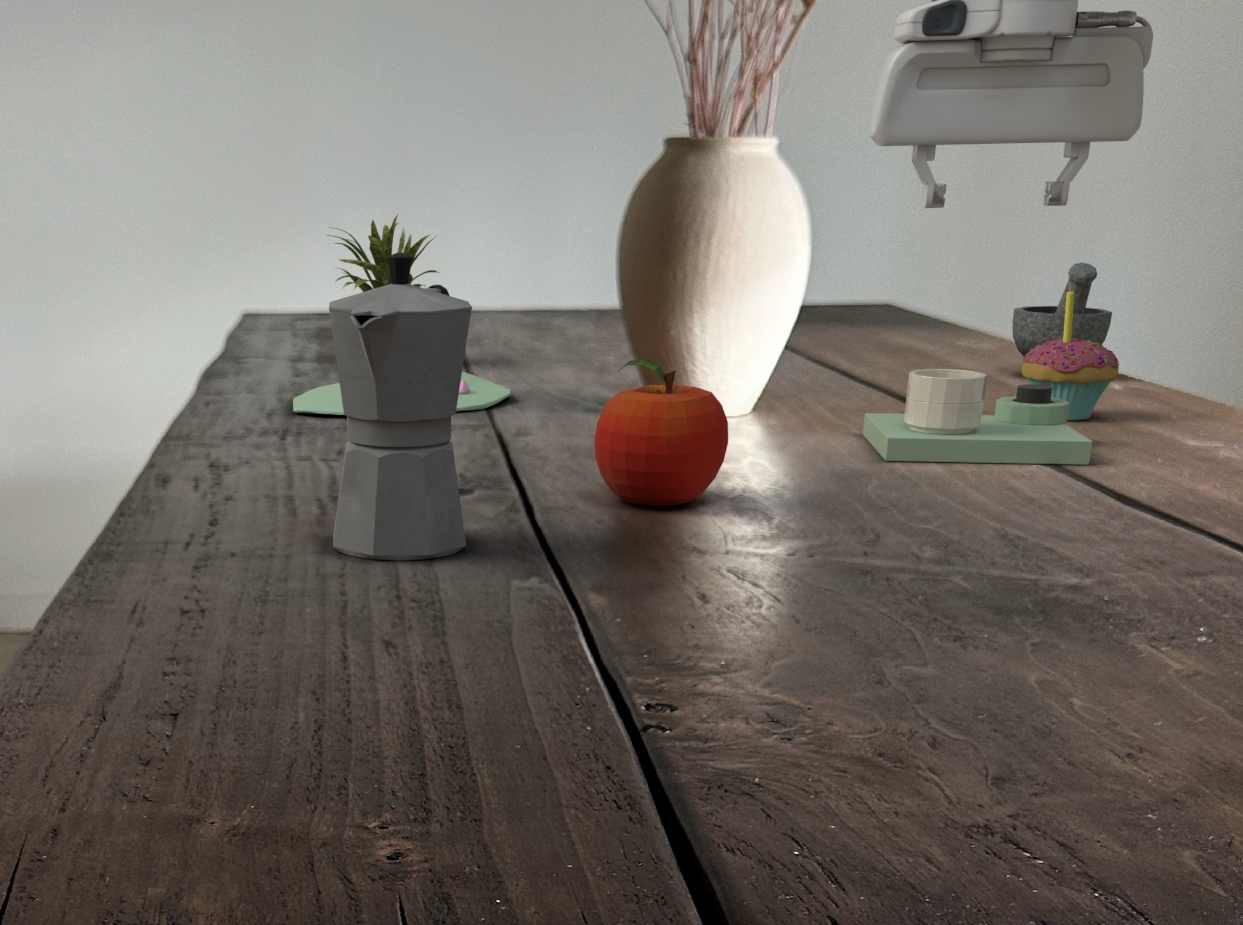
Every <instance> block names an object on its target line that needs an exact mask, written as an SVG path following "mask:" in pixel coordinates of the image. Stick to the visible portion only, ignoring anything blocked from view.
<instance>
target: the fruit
mask: <svg viewBox="0 0 1243 925" xmlns="http://www.w3.org/2000/svg"><path fill="white" fill-rule="evenodd" d="M627 366H643V367H646V368H648V369H650V370H652V371H653V372H654V373H655V374H656V375H657V376H659V378H660V379H662V380H663V381H664V384H648V385H644V386H639V387H634V388H630V389H626V390H622V391H620V392H618V393H616V394H614V395H613V396H612V397H611V398H610V400H608V401H607V402H606V403H605V405H604V406H603V409H602V411H601V413H600V415H599V418H598V420H597V422H596V426H595V427H596V428H595V432H594V433H595V434H594V438H593V439H594V440H593V442H594V457H595V461H596V465H597V467H598V468H597V469H598V471H599V474H600V476H601V478H602V479H603V481H604V482H605V484H606V486H607V487H608V489H609V490H610V491H611V493H613V494H614V495H616V496H617V497H619V498H620V499H622V500H623V501H624V502H627V503H630V504H633V505H634V504H635V505H641V506H651V507H652V506H653V507H654V506H655V507H656V506H657V507H658V506H659V507H663V506H678V505H683V504H686V503H688V502H690V501H691V500H694V499H695V498H697V497H698V496H701V495H702V494H704V493H705V491H706V490H707V489H708V487H709V486H710V485H711V484H713V482H714V481H715V479H716V478H717V475H718V474H719V472H720V469H721V468H722V465H723V464H724V461H725V458H726V453H727V449H728V446H729V422H728V418H727V416H726V413H725V410H724V407H723V404H722V403H721V401H720V400H718V398H717V397H716V395H715V394H714V393H713V392H712V391H709V390H706V389H704V388H701V387H698V386H691V385H690V386H689V385H675V384H674V381H675V377H676V372H677V370H676V369H675V370H672V371H669V372H665V373H664V371H663V369H662V367H661V365H659V364H657V363H655V362H654V361H652V360H650V359H649V358H641V359H633V360H628V361H627V362H626V363H625V364H624V365H623V366H622V367H621V368H619V369H618V370H616V372H617V373H618V372H619V371H621V370H622V369H624V368H625V367H627Z"/></svg>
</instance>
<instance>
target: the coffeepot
mask: <svg viewBox="0 0 1243 925" xmlns="http://www.w3.org/2000/svg"><path fill="white" fill-rule="evenodd" d="M412 258H413V257H412V256H410V255H407V254H405V253H403V252H402V253H397V252H395V253H392V255H390V256H387V259H388V265H389V271H390V277H391V283H392V284H389V285H386V286H382V287H379V288H375V289H372V290H369V291H365V292H363V291H362V292H358V293H355V294H352V295H347V296H345V297H342V298H340V299H335V300H332V301H329V304H328V310H329V311H328V312H329V318H330V325H331V332H332V340H333V347H334V355H335V361H336V368H337V376H338V381H339V382H338V383H340V390H341V397H342V404H343V411H344V415H343V416H346V439H347V441H346V442H345V449H344V456H343V461H342V462H343V463H342V471H341V478H340V485H339V492H338V499H337V505H336V513H335V519H334V525H333V526H334V528H333V534H332V547H333V548H334V549H335V550H336V551H337V552H339V553H341V554H345V555H348V556H352V557H355V558H360V559H361V558H362V559H367V560H368V559H369V560H379V561H380V560H381V561H419V560H429V559H436V558H442V557H446V556H450V555H453V554H456V553H459V552H461V551H462V550H463V549H464V548H466V547H467V540H466V534H465V526H464V525H465V524H464V519H463V512H462V511H463V510H462V504H461V496H460V490H459V481H458V475H457V467H456V460H455V453H454V452H455V451H454V446H453V442H452V441H451V439H452V416H454V415H456V413H457V411H456V408H457V402H458V395H459V388H460V382H461V375H462V372H463V369H464V368H463V367H464V362H465V356H466V348H467V342H468V336H469V330H470V329H469V328H470V323H471V322H470V321H471V315H472V310H473V306H472V304H470V302H469V301H467V300H465V299H461V298H458V297H455V296H452V295H450V293H449V290H448V288H446V287H445V286H443V285H441V284H432V285H430V286H428V287H426V288H425V287H422V286H421V287H417V286H414V284H412V283H411V284H408V281H409V275H410V274H411V269H412V266H411V264H412Z"/></svg>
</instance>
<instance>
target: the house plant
mask: <svg viewBox="0 0 1243 925" xmlns="http://www.w3.org/2000/svg"><path fill="white" fill-rule="evenodd" d="M398 216H399V214H397V215H396V216H395V217H394V218H393V220H392V223H391V226H390V227H389V225H387V224H385V225H383V228H382V233H381V234H382V236H380V234H379V231H378V228H377V225H376V223H375V220H373V219H371V220H372V221H371V223H370V235H368V237H367V238H368V240H369V248H368V250H369V251H370V254H371V256H372V259H373V261H374V263H372V262H371V261H370V259H369V258H368V256H367V254H366V253H365V252H366V251H364V249H363V247H362V246H361V244H360V243H359V242H358V240H357V239H356V238H355V236H353V235H352V234H351V233H350V232H347V231H346V230H343V229H341V228H337V227H333V229H334V230H338V231H341V232H344V233H345V234H347V235H348V236H350V237H351V238H352V239H347V238H344V237H341V236H336V235H331V234H327V236H328V237H333V238H338V239H341V240H342V241H344V242H345V243H344V242H343V243H342V242H334V245H335V244H336V245H342V246H344V247H345V248H347V249H348V250H349V251H350V252H351V253H352V254H353V255H354V257H355V258H356V259H351V258H350V259H349V258H348V259H347V258H346V259H343V258H341V259H339V261H340V262H343V263H346V264H352V265H355V266H358V267H360V268H362V270H363V271H364V273H365V275H366V277H367V278H368V279H366V278H365V279H364V278H361V277H360V276H358V275H354V274H351V273H350V272H349V271H347V270H346V269H343V268H340V267H337V269H338V270H341V271H343V273H344V274H346V275H342V276H340V277H337V279H336V280H335V281H334V283H335V282H338V281H339V280H342V279H344V278H350V279H351V280H352V281H347V282H345V284H344V285H343V287H342V289H345V287H347V286H350V285H353V284H354V287H353V291H355V290H356V288H359V289H360V290H361V291H362V292H365V291H369V290H372V289H375V288H379V287H382V286H386V285H389V284H392V283H391V277H390V271H389V265H388V259H387V256H390V255H392V254H393V243H394V237H395V236H394V234H395V231H396V230H395V229H396V227H397V226H398V225H399V224H400V222H397V219H398ZM327 228H328V229H332V227H330V226H329V227H328V226H327ZM430 236H431V234H428V235H425V236H423V237H421V238H420V239H419V240H418V241H417V242H415V243H414V244H413V245H412V233H409V236H408V239H407V242H406V231H405V228H404V227H402V230H401V234H400V237H399V242H398V247H397V251H396V253H405V254H407V255H410V256H412V257H413V258H412V264H411V267H413V264H414V263H415V262H416V260H417V259H418V258H419V257H420V255H421V254H422V253H423V252H424V250H425V249H426V247H427V246H428V245H429V244H430V243H431V242H433V240H434V239H435V238H436V236H434V237H433V238H432V239H430V240H429V241H428V242H426V244H425V245H424V246H423V248H422V249H421V250H420V251H419V249H420V247H421V246H422V244H423V243H424V241H425V240H426V239H427V238H428V237H430ZM352 242H353V243H352ZM405 242H406V243H405ZM354 243H355V244H356V245H355V244H354ZM418 251H419V252H418ZM332 268H334V269H335V267H332ZM369 271H370V272H371V274H372V276H373V277H374V279H373V278H372V276H371V274H370V272H369ZM428 273H439V275H441V276H442V274H441V273H440V272H439V271H437V270H436V269H435V270H434V269H430V270H426V271H424V272H422V273H420V274H418V275H416V276H415V277H414V276H413V274H412V273H410V275H409V281H408V284H411V285H412V283H413V281H414V280H416V279H418V278H419V277H421V276H422V275H425V274H428ZM367 282H370V284H371V285H370V284H368V283H367ZM413 285H414V286H417V287H421V288H422V286H423V287H424V289H425V288H427V287H426V284H421V283H414V284H413Z"/></svg>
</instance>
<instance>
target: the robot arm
mask: <svg viewBox="0 0 1243 925" xmlns="http://www.w3.org/2000/svg"><path fill="white" fill-rule="evenodd" d="M1078 8H1079V0H931V1H930V2H928V3H925V4H922V5H919V6H916V7H913V8H911V9H908V10H906V11H904V12H903V13H901V14H899V16H897V17H896V19H895V21H894V25H893V26H894V27H893V38H894V40H895V42H896V43H898V44H901V45H899V46H897V47H895V48H893V49H892V50H890V52H889V53H888V54H887V55H886V57H885V58H884V60H883V62H882V63H881V66H880V69H879V72H878V76H877V79H876V84H875V88H874V93H873V98H872V102H871V109H870V116H869V122H868V123H869V125H868V135H869V137H870V138H871V140H872V141H873V143H874V144H875V145H876V146H877V147H905V146H906V147H908V146H909V147H910V146H911V147H912V152H911V153H912V154H911V163H912V165H913V167H914V170H915V172H916V174H917V175H918V179H919V180H920V182H921V184H922V185H923V187H922V196H921V208H922V209H938V208H940V209H942V208H944V207H945V202H946V201H945V200H946V198H945V194H946V193H947V183H937V182H936V180H935V177H934V175H933V173H932V170H931V167H930V166H929V164H928V162H933V161H934V160H935V157H936V149H937V146H954V145H999V144H1000V145H1002V144H1004V145H1006V144H1047V143H1048V144H1049V143H1050V144H1051V143H1064V147H1063V158H1064V159H1069V160H1068V161H1067V163H1066V164H1065V166H1064V168H1063V169H1062V170H1061V172H1060V173H1059V175H1058V177H1057V178H1056V180H1055V181H1045V183H1044V192H1045V194H1044V196H1043V197H1042V205H1043V206H1046V207H1061V206H1062V207H1063V206H1065V207H1066V206H1067V204H1068V201H1069V193H1070V186H1071V182H1073V180H1074V179H1075V178H1076V176H1077V175H1078V173H1080V170H1082V168H1083V166H1085V165H1084V164H1085V163H1086V162H1087V161H1088V160H1089V154H1090V146H1091V143H1103V142H1104V143H1105V142H1109V143H1110V142H1128V141H1130V140H1131V139H1132V138H1133V137H1134V136H1135V135H1136V133H1137V132H1138V131H1139V130H1140V128H1141V126H1142V120H1143V112H1144V92H1145V91H1144V90H1145V89H1144V86H1145V83H1144V82H1145V80H1144V78H1145V77H1144V74H1145V73H1144V70H1145V69H1146V67H1147V66H1148V64H1149V61H1150V59H1151V55H1152V48H1153V41H1154V31H1153V27H1152V26H1151V24H1150V23H1149V21H1148V20H1147V19H1146V18H1144V17H1142V16H1139V15H1138V13H1137V12H1136V11H1135V10H1128V9H1127V10H1126V9H1125V10H1118V11H1112V12H1111V11H1109V12H1108V11H1098V10H1094V11H1093V10H1092V11H1091V10H1090V11H1078ZM1136 23H1137V24H1140V25H1141V26H1134V25H1135V24H1136Z"/></svg>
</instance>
